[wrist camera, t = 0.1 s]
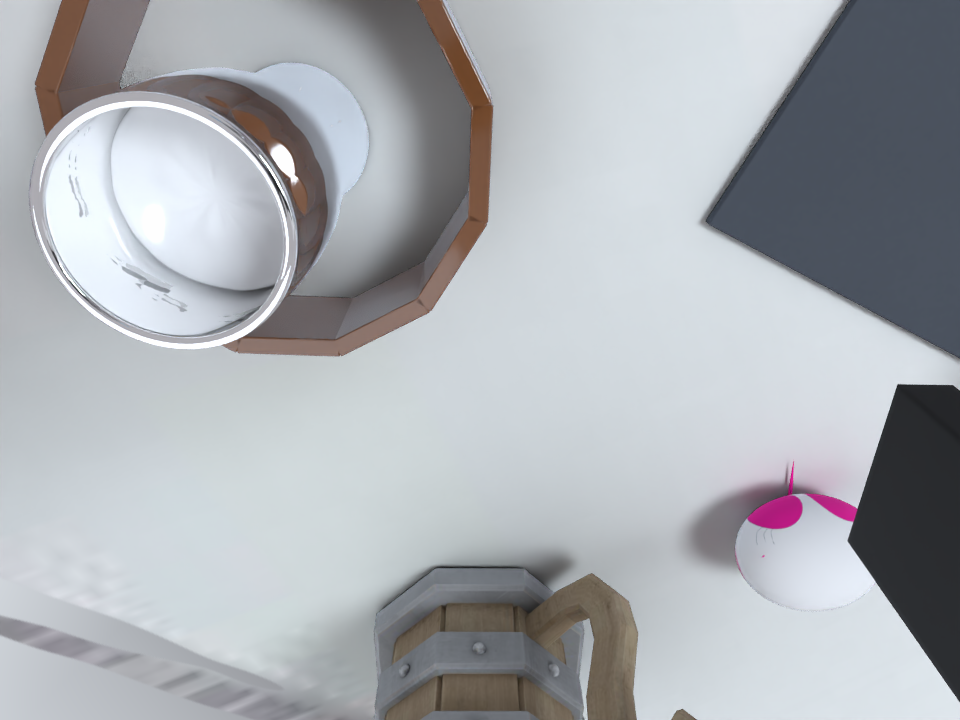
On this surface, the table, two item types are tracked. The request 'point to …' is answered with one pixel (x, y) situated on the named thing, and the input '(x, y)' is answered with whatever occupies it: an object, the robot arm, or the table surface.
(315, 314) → the brown ring
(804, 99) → the mat
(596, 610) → the tankard
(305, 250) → the beer glass
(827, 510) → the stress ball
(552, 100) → the table surface
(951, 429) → the robot arm
